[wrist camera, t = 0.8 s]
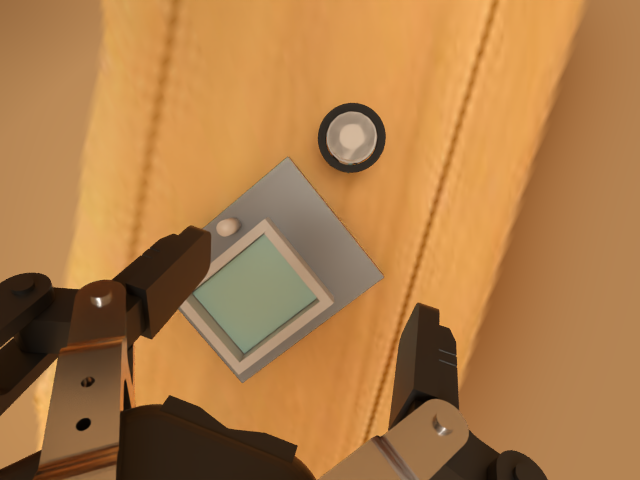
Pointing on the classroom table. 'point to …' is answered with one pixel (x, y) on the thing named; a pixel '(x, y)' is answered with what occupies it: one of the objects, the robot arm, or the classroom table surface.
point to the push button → (351, 137)
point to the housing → (275, 271)
